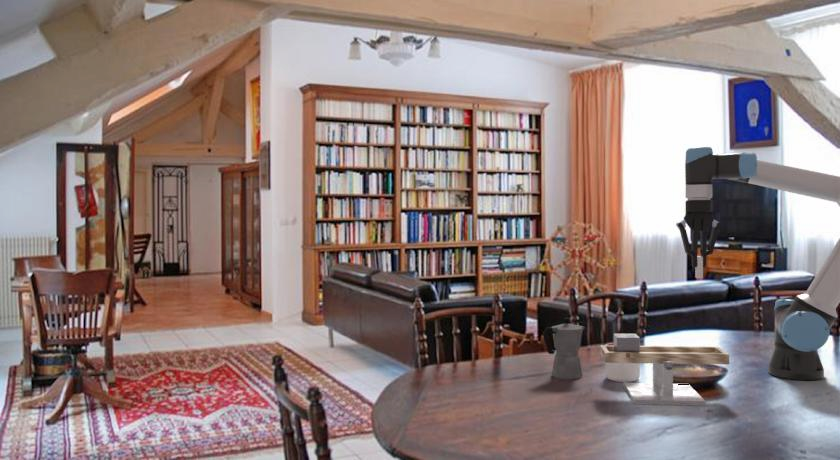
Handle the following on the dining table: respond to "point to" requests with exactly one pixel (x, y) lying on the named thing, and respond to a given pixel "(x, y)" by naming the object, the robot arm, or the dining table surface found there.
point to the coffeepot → (565, 349)
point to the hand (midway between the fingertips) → (699, 277)
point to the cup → (622, 371)
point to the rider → (626, 343)
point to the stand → (663, 389)
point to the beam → (667, 355)
